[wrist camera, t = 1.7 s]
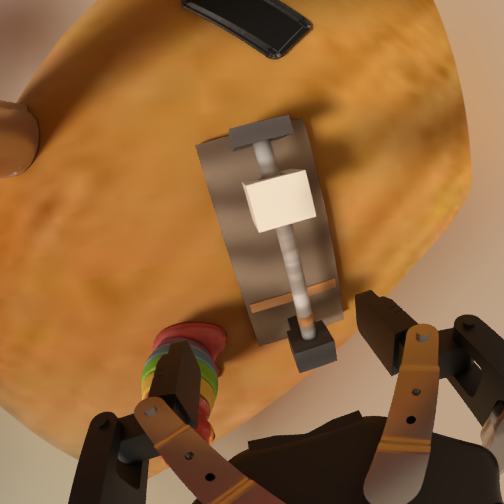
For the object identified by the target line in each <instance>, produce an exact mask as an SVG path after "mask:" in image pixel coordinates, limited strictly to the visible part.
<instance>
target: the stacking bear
mask: <svg viewBox="0 0 504 504" xmlns="http://www.w3.org/2000/svg"><path fill="white" fill-rule="evenodd" d="M226 339H227V334H226V333H225V332H224V331H223V329H222V328H221V327H219V326H217V325H212V324H207V323H184V324H179V325H175V326H172V327H169V328H167V329H165V330H163V331H162V332H160V333H159V334H158V335H157V337H156V339H155V341H154V345H153V353H152V354H151V355H150V357H149V359H148V360H147V362H146V364H145V367H144V370H143V374H142V400H144V399H146V398H148V394H149V391H150V387H151V383H152V379H153V378H154V372H155V369H156V365H157V362H158V361H159V359H160V358H161V357H162V356H163V355H164V354H168V351H169V347H170V344H171V343H172V342H177V341H182V340H187V341H188V342H189V344H190V347H191V349H192V351H193V353H194V355H195V358H196V360H197V362H198V364H199V367H200V371H201V385H200V399H199V415H198V429H193V430H194V431H195V432H196V433H198V434H199V435H200V436H201V437H202V438H203V439H204V440H205V441H206V442H207V443H208V444H209V445H210V444H211V443H212V442H213V440H214V438H215V433H214V430H213V428H212V426H211V424H210V423H209V422H208V421H207V420H208V418H209V416H210V413H211V411H212V408H213V405H214V401H215V399H216V396H217V391H218V377H219V373H220V372H219V369H218V367H217V365H216V362H215V360H216V357H217V355H218V354H219V353H220V352H221V351H222V350H223V348H224V347H225V345H226V342H227V341H226ZM158 457H159V458H162V456H161V455H160V456H158ZM162 459H163V458H162ZM164 461H165V460H164ZM165 463H166V462H165ZM166 464H167V463H166ZM167 465H168V464H167ZM168 466H169V465H168Z"/></svg>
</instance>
